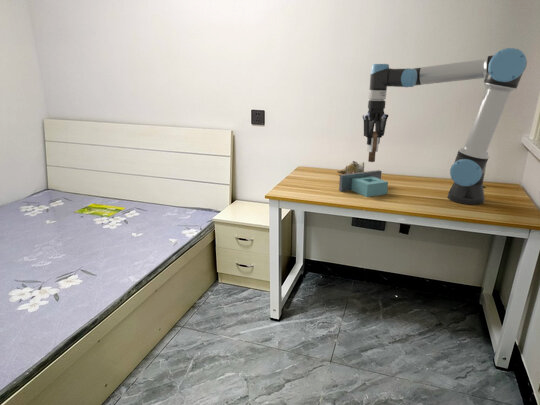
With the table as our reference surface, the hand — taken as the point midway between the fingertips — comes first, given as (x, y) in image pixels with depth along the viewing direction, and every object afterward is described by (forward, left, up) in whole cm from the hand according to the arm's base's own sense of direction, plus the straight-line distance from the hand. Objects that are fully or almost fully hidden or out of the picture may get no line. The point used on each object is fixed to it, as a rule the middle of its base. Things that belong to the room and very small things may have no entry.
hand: (372, 151), depth 185 cm
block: (0, 0, -20) cm, 20 cm away
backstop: (+7, 0, -20) cm, 21 cm away
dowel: (0, 0, -5) cm, 5 cm away
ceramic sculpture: (+30, -12, -20) cm, 38 cm away
